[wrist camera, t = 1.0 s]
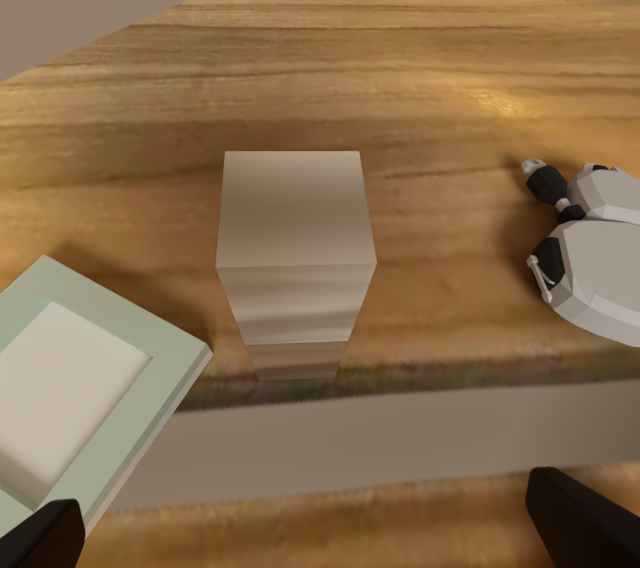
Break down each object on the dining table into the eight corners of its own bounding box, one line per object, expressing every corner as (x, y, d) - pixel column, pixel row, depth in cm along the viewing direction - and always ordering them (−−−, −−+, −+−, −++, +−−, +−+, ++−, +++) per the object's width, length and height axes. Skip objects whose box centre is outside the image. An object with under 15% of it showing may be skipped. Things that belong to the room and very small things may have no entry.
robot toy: (497, 182, 32) (512, 337, 24) (526, 136, 28) (556, 302, 20) (641, 210, 31) (708, 378, 23) (690, 167, 27) (791, 351, 19)
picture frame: (59, 578, 17) (31, 590, 15) (-119, 445, 19) (-162, 442, 17) (213, 354, 22) (206, 343, 20) (62, 270, 24) (43, 253, 22)
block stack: (334, 377, 22) (377, 263, 10) (258, 381, 21) (215, 267, 10) (329, 308, 24) (358, 151, 12) (259, 311, 23) (225, 151, 12)
